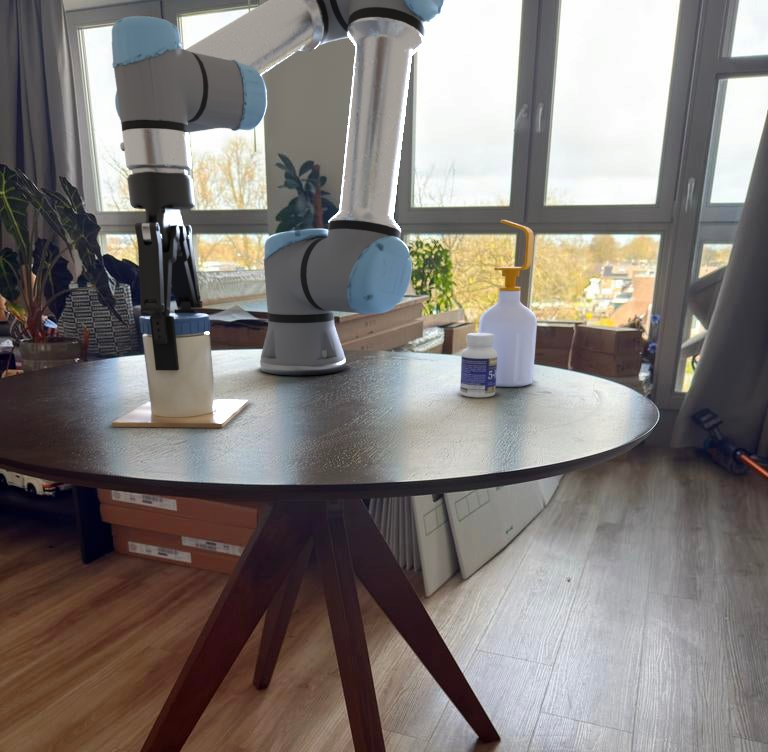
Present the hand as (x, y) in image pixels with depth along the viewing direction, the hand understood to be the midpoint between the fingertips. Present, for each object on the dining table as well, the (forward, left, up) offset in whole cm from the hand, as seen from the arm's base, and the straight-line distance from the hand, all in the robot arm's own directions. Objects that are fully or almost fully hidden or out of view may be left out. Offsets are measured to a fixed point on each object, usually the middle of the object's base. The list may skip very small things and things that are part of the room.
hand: (179, 363), depth 94 cm
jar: (0, 0, -6) cm, 6 cm away
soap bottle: (-25, +45, -7) cm, 52 cm away
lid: (0, 0, +6) cm, 6 cm away
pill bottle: (-15, +40, -7) cm, 43 cm away
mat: (0, 0, -7) cm, 7 cm away
